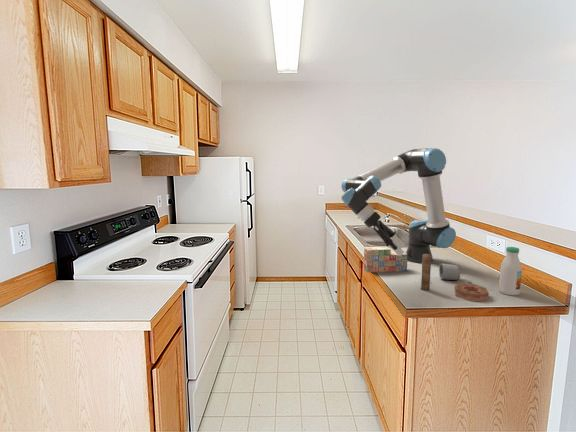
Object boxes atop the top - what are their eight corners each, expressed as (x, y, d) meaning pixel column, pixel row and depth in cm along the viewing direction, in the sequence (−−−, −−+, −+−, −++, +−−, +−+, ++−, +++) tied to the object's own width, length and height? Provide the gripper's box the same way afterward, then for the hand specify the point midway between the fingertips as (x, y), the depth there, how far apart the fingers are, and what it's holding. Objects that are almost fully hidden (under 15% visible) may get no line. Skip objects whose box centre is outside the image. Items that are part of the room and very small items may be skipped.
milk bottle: (510, 297, 143) (514, 250, 140) (494, 290, 151) (497, 246, 148) (524, 294, 146) (528, 249, 142) (508, 288, 153) (511, 245, 150)
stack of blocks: (402, 267, 186) (403, 245, 184) (407, 271, 179) (407, 248, 177) (363, 269, 185) (364, 246, 183) (366, 272, 179) (367, 249, 177)
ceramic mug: (460, 282, 162) (461, 266, 161) (442, 281, 163) (443, 265, 162) (454, 275, 172) (454, 260, 171) (436, 274, 174) (437, 260, 173)
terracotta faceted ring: (453, 288, 154) (453, 282, 153) (483, 291, 150) (484, 285, 149) (456, 298, 143) (457, 292, 142) (489, 302, 139) (490, 295, 138)
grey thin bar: (469, 283, 160) (469, 281, 160) (470, 283, 160) (471, 282, 160) (472, 290, 151) (472, 289, 151) (474, 290, 151) (474, 289, 151)
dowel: (420, 287, 156) (422, 253, 154) (429, 288, 155) (431, 254, 153) (421, 290, 153) (422, 255, 150) (429, 291, 152) (431, 256, 149)
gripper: (366, 217, 170) (397, 248, 168) (359, 226, 147) (394, 263, 144) (377, 207, 168) (408, 239, 165) (372, 215, 144) (408, 251, 142)
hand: (402, 250), depth 155 cm, fingers open, 13 cm apart
